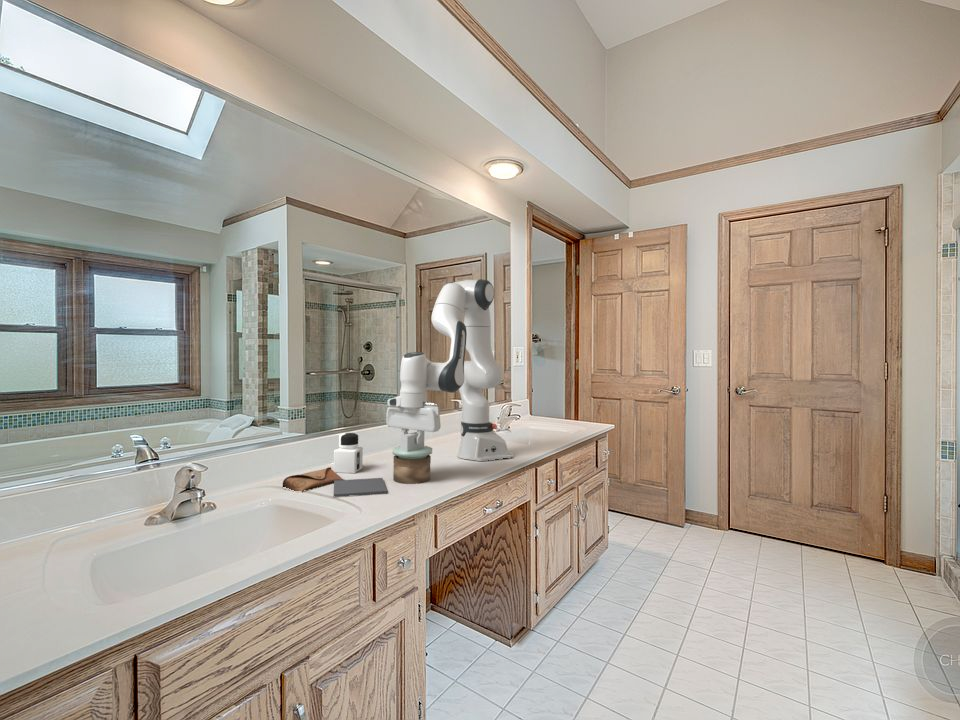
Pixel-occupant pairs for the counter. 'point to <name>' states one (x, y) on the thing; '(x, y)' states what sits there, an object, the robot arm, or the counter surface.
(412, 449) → the lid
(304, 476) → the sunglasses case
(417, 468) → the canister
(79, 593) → the counter surface
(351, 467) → the container
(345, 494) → the mat
